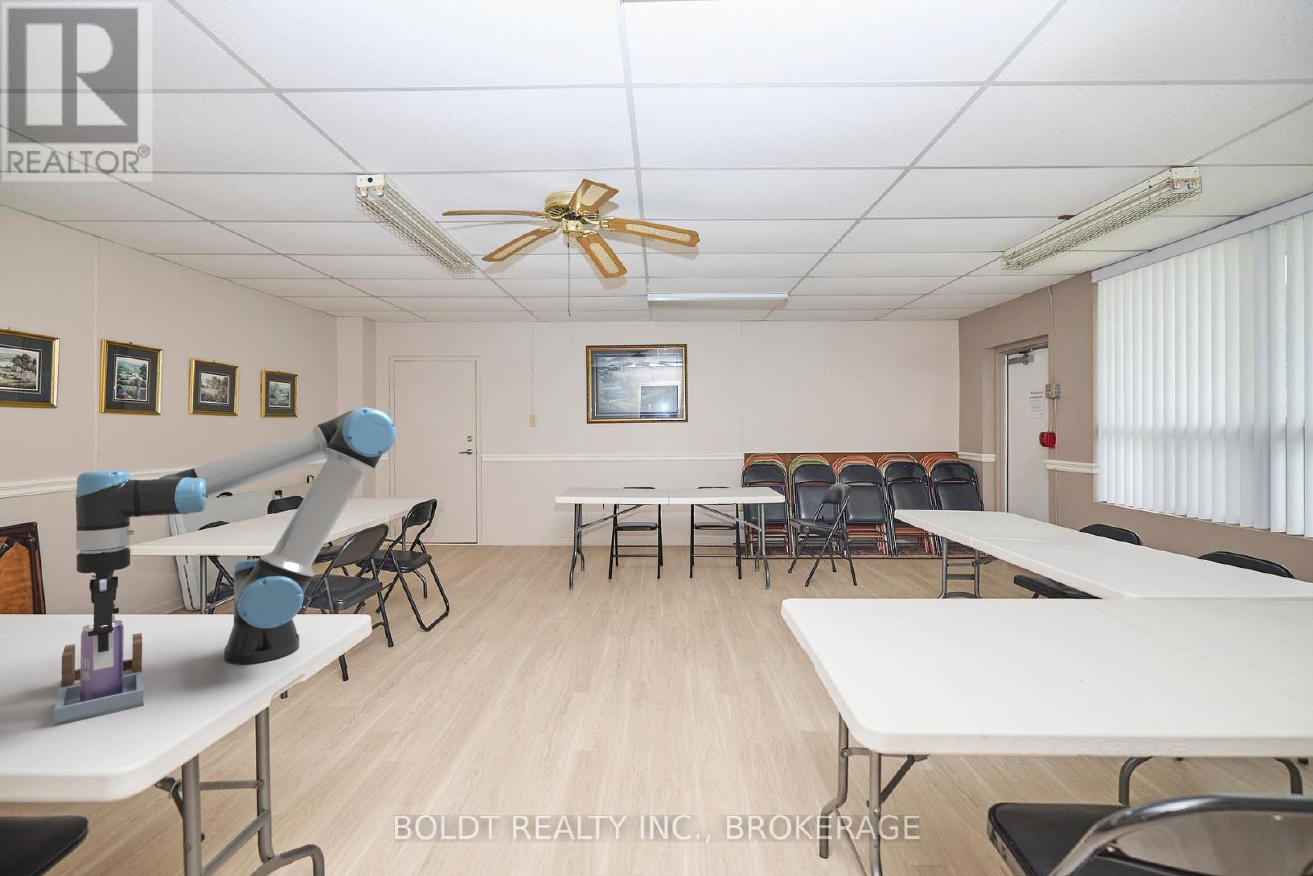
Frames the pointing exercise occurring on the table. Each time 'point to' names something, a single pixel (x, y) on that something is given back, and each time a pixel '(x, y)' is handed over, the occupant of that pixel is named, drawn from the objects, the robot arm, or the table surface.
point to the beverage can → (105, 678)
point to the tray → (98, 701)
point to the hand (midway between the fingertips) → (104, 657)
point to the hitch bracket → (72, 675)
